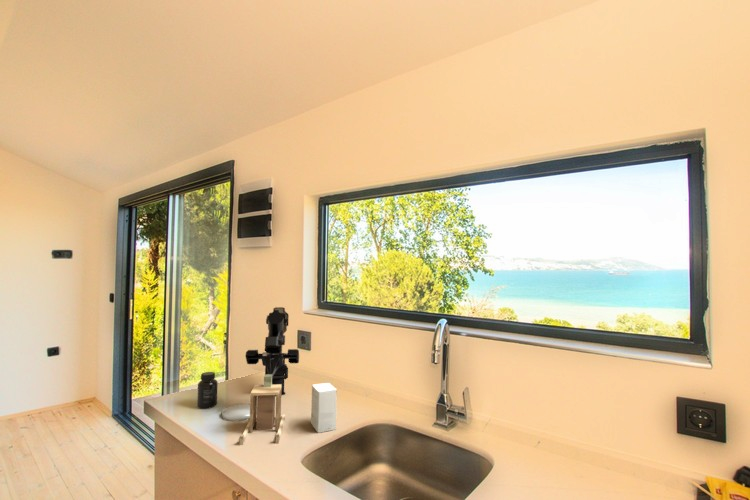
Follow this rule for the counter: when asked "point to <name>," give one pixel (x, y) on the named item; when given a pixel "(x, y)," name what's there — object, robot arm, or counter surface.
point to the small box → (323, 407)
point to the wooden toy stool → (265, 390)
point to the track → (243, 437)
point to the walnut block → (265, 412)
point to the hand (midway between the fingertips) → (270, 377)
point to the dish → (237, 412)
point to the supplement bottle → (207, 391)
